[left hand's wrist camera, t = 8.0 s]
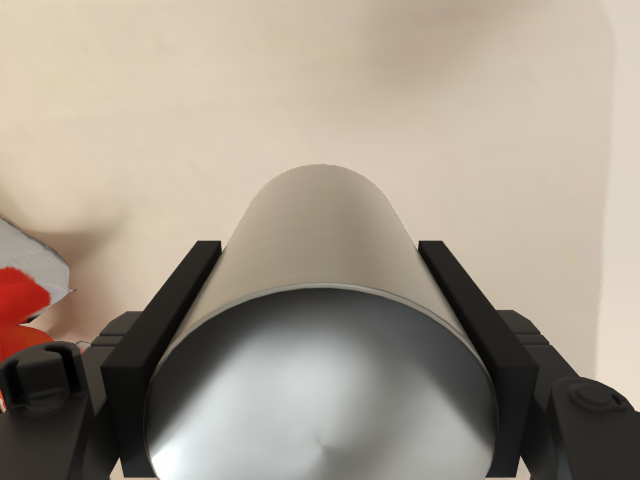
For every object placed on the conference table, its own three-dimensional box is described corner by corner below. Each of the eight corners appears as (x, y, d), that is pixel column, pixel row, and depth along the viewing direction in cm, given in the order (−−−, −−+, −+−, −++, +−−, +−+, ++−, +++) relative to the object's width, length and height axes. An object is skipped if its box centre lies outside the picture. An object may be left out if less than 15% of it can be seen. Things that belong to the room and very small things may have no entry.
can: (209, 238, 17) (66, 436, 8) (325, 127, 16) (334, 198, 6) (316, 337, 19) (313, 604, 9) (431, 246, 17) (571, 452, 8)
